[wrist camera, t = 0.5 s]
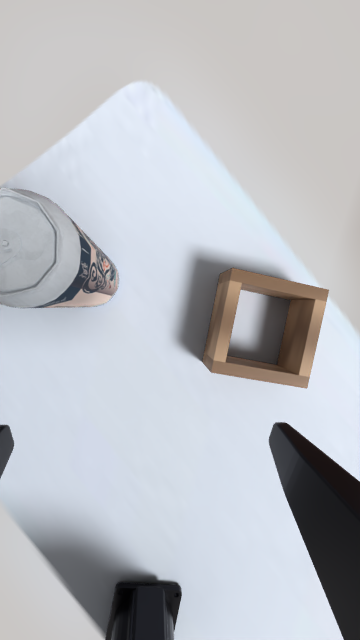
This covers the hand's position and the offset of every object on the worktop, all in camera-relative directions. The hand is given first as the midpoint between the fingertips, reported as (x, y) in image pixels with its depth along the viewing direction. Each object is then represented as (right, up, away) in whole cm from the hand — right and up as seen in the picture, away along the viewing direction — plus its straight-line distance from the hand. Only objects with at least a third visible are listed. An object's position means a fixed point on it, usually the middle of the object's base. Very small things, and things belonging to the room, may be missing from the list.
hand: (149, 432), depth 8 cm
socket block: (+8, +3, +14) cm, 17 cm away
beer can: (-7, +7, +13) cm, 16 cm away
